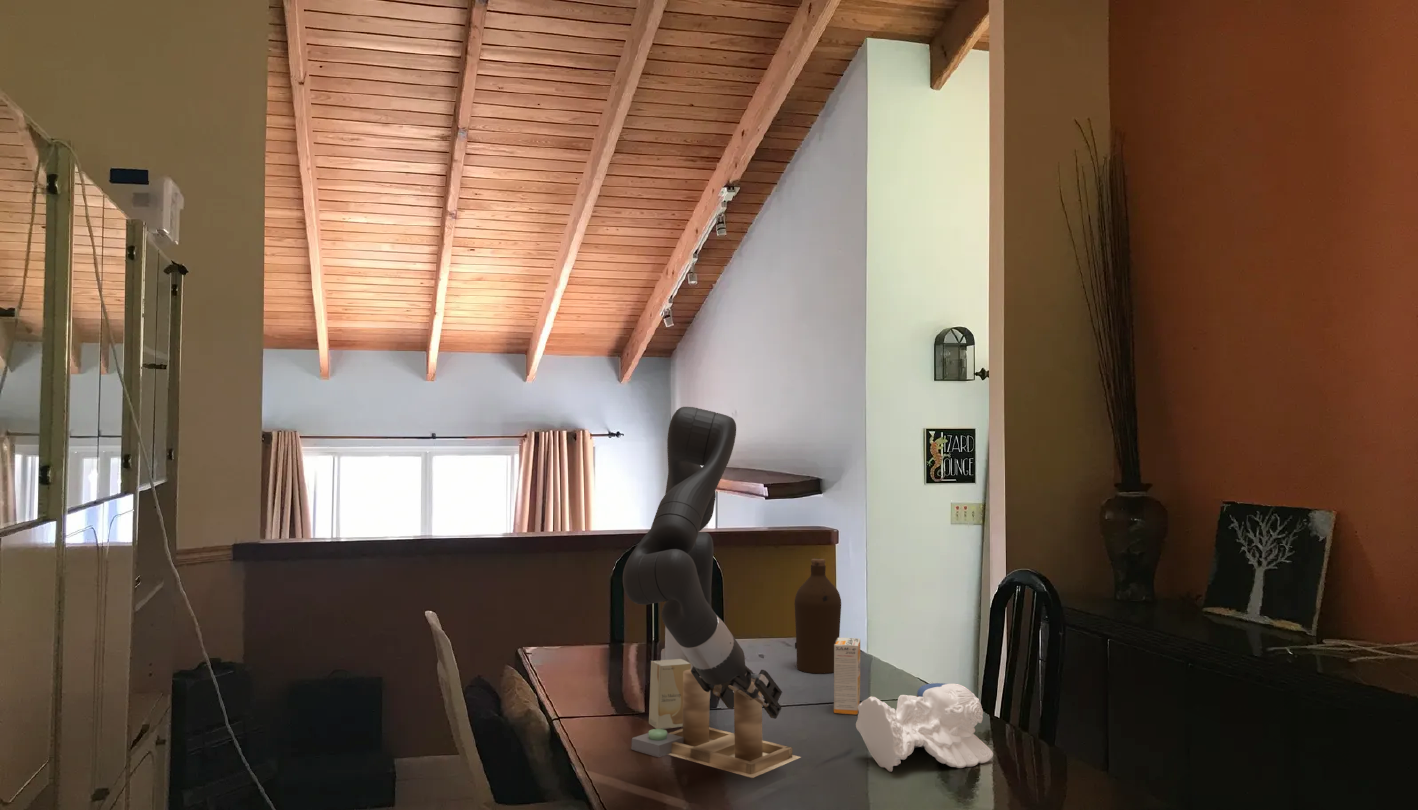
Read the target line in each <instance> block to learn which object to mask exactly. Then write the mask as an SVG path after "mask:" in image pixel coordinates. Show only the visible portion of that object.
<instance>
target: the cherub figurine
mask: <svg viewBox="0 0 1418 810" xmlns="http://www.w3.org/2000/svg"><path fill="white" fill-rule="evenodd" d="M896 703H897V704H896V709H895V708H894V707H891V706H890V705H888V704H887V703H886V702H885V701H882V700H880V699H879V698H877V697H876V696H869V697H868V698H866V699H864V700H862V701H861V703H860V704H859V705H858V714H857V719H856V723H855V727H856V730H857V732H859V734H860V736H861V737H862V740H863V742H864V744H865V747H866V749H867V750H868V753H869V754H870V756H871V757H872V759H873V760H875V762H876V763H877V765H878V766H879V767H880V768H884V769H886V770H887V771H888V772H893V769H894V767H897V766H899V765H901V762H902V761H904V760H906V759H907V758H908V756H910V755H912V753H913V752H914V751H915V749H918V748H924V750H925V752H927V753H928V754H929V755H930V756H932V757H934V758H935V760H936V761H937V762H938V763H941V764H943V765H944V764H945V765H946V766H947V767H951V768H956V769H963V768H965V767H967V768H972V767H975V766H976V765H978V764H985V763H987V762H989V761H990V760H991V759H992V758H993V756H994V753H993V750H992V749H991V748H990V747H989V746H987V744H986V743H984V742H983V741H982V740H981V738H979V737H978V736H977V735H976V734H974V733H975V732H976V728H975V727H976V726H977V724H978V723H979V724H982V722H983V720H984V719H983V718H984V717H983V714H984V710H983V708H982V707H983V706H982V704H981V702H980V699H979V698H978V697H977V696H976V695H975V693H973V692H972V691H971V690H970V689H968V688H967V687H965V686H964V685H962V684H957V683H945V685H942V686H941V687H934V688H930V689H927V690H925V691H924V693H923V697H917V695H912V694H911V695H907V694H900V695H899V696H898V698H897V702H896ZM901 760H902V761H901Z"/></svg>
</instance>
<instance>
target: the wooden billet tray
mask: <svg viewBox="0 0 1418 810" xmlns="http://www.w3.org/2000/svg"><path fill="white" fill-rule="evenodd" d="M668 733H669V734H673V735H677V736H681V737H683V728H680V729H677V730H674V731H670V732H668ZM762 744H763V756H762V757H760V758H757V759H755V760H752V761H746V760H742V759H739V758H735V734H734V732H730V731H726V730H721V729H717V728H713V727H710V726H709V742H707V743H704V744H701V745H698V746H696V747H693V746H689V745H686V744H682V743H678V742H674V743H672V748H671V753H669V754H667V755H668V756H671V757H675V758H678V759H682V760H685V761H690V762H694V763H697V764H701V765H704V766H708V767H711V768H715V769H718V770H722V771H726V772H730V773H733V774H737V775H741V776H744V777H747V778H751V779H754V778H756V777H759V776H760V775H763V774H766V773H768V772H770V771H773V770H775V769H777V768H779V767H782V766H784V765H786V764H789V763H791V762H793V761H796V760H798V759H800V758H802V756H799V755H794V754H793V747H791V746H788V745H783V744H778V743H775V742H772V741H767V740H763V739H762ZM667 755H666V756H667Z"/></svg>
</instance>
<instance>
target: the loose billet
mask: <svg viewBox="0 0 1418 810" xmlns="http://www.w3.org/2000/svg"><path fill="white" fill-rule="evenodd" d="M754 686H755V685H754V682H751V684H750V686H749V688H748V690H747V691H748V692H750V693H751V692H752V690H753V688H754ZM733 692H734V708H733V716H734V717H733V721H734V722H733V724H734V726H733V727H734V729H733V730H734V732H733V733H734V734H735V758H739V759H742V760H746V761H752V760H755V759H757V758H760V757H762V756H763V744H762V740H763V706H762V704H760V703H759V702H757V701H756V700H754V699H753V700H749V699H748V698H746V697H745V696H743V695H742V694H740V693H739V692H735V691H733ZM758 695H759V696H760V697H762V698H763V695H762V694H761V693H760V691H759V692H758Z"/></svg>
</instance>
